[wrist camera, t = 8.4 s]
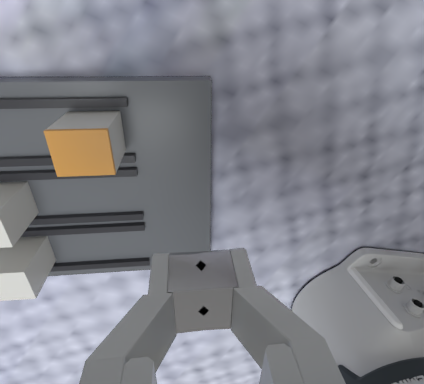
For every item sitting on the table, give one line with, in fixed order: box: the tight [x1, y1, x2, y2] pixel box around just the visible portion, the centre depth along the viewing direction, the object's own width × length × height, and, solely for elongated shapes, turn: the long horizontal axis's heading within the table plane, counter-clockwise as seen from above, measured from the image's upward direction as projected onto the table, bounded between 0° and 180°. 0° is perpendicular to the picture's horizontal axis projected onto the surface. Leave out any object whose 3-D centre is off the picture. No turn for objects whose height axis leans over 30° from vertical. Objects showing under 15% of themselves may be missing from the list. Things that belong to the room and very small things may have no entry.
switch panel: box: [0, 76, 212, 301], centre depth 23 cm, size 22×18×6 cm
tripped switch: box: [44, 111, 126, 177], centre depth 19 cm, size 4×3×4 cm
